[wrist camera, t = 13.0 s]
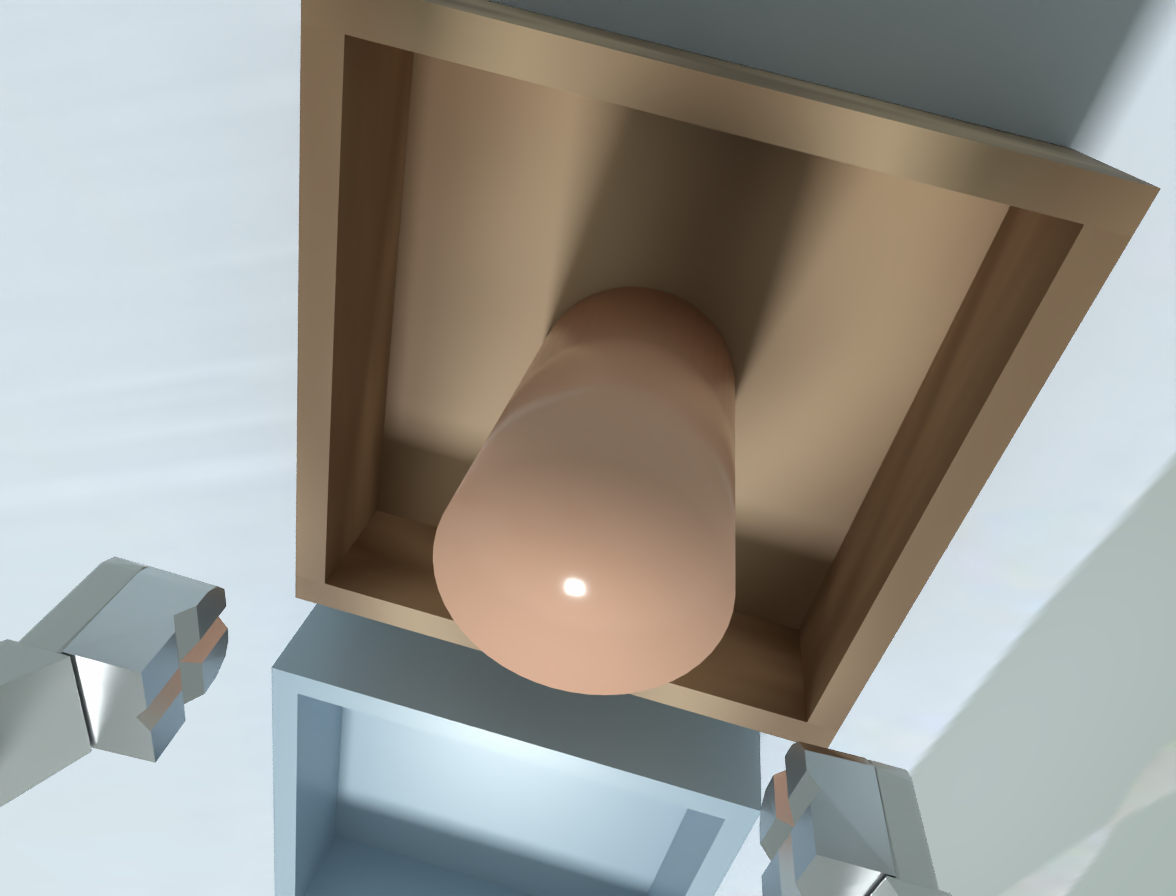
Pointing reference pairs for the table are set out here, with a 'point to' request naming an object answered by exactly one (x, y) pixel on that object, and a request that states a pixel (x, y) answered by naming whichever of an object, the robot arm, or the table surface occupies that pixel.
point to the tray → (691, 272)
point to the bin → (490, 777)
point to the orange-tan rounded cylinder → (602, 503)
